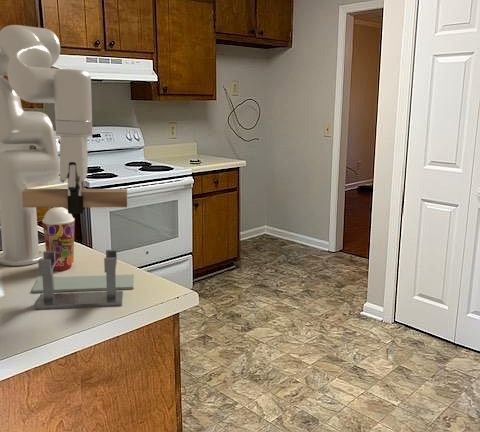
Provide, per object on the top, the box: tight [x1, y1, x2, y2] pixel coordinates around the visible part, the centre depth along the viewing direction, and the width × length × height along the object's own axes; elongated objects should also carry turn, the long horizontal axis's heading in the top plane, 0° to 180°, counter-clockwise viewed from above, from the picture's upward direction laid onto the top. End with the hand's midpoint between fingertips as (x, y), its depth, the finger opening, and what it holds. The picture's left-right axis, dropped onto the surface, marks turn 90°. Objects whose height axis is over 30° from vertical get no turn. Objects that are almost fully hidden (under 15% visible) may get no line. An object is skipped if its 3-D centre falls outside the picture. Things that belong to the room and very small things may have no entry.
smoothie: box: [41, 207, 76, 271], centre depth 136 cm, size 8×8×20 cm
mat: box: [31, 274, 135, 294], centre depth 126 cm, size 9×24×1 cm, turn 101°
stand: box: [34, 249, 124, 310], centre depth 114 cm, size 7×19×11 cm, turn 101°
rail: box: [22, 187, 128, 208], centre depth 110 cm, size 4×22×4 cm, turn 101°
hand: (77, 210), depth 111 cm, fingers closed on rail, 3 cm apart
